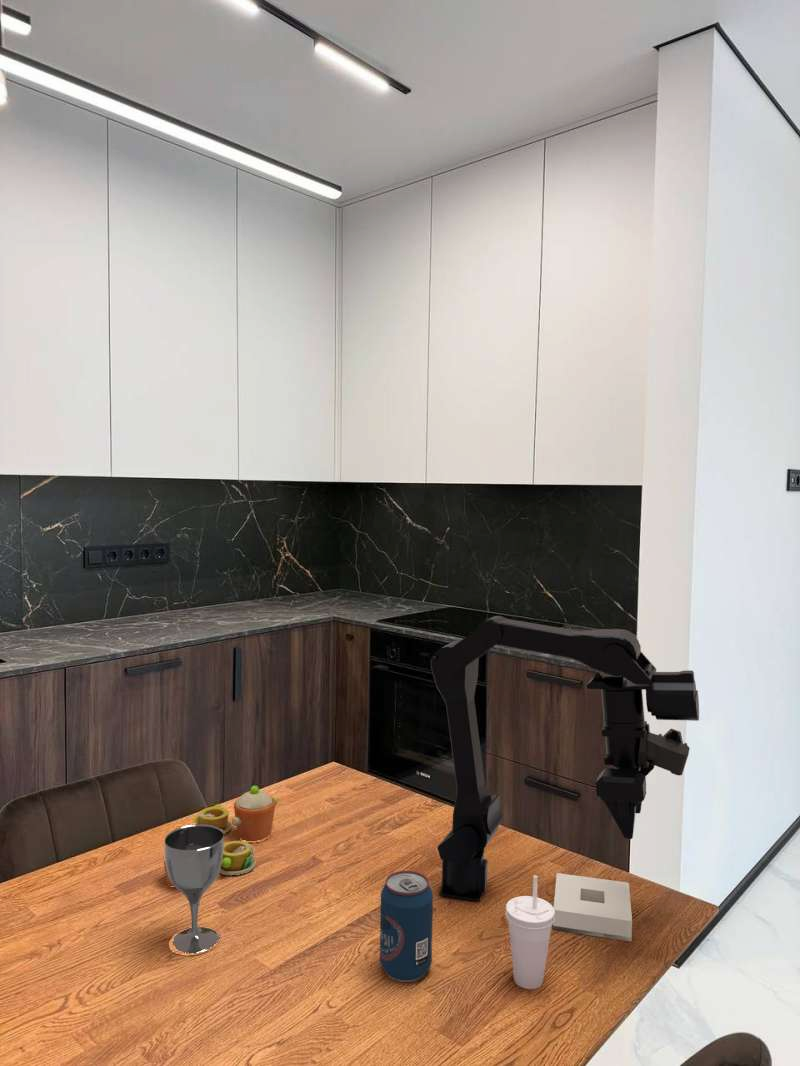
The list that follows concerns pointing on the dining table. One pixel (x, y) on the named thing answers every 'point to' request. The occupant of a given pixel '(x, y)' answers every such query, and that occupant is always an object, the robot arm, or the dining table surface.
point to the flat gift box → (593, 907)
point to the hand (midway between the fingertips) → (632, 825)
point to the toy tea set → (240, 829)
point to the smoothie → (529, 937)
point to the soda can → (406, 926)
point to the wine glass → (194, 876)
